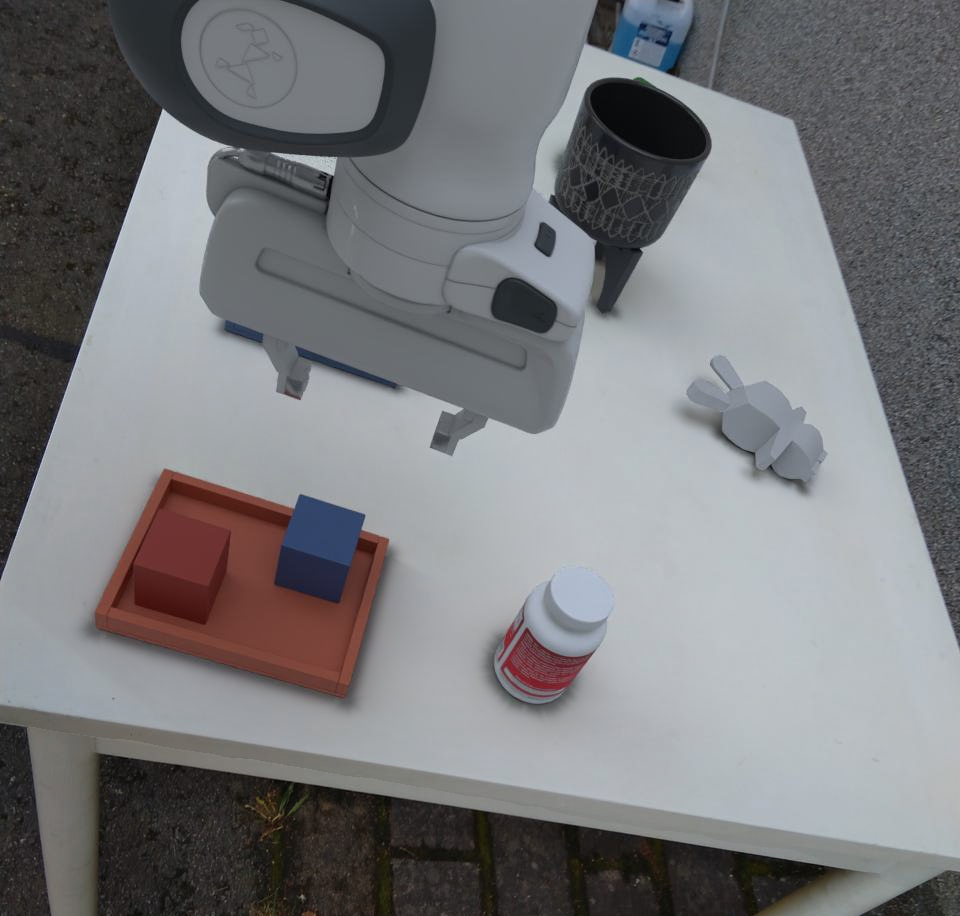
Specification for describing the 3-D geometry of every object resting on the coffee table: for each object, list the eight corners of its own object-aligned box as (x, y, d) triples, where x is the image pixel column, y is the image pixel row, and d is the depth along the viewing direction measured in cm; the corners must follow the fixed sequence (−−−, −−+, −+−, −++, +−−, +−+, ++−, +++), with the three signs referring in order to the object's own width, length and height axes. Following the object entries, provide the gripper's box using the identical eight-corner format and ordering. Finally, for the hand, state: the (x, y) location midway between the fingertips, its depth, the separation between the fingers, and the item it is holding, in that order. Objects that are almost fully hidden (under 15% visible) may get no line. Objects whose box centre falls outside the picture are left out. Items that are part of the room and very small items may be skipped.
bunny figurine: (817, 479, 88) (697, 376, 88) (783, 509, 92) (668, 411, 92) (847, 429, 94) (734, 333, 94) (813, 459, 98) (704, 367, 98)
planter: (554, 220, 105) (618, 61, 90) (651, 281, 104) (731, 130, 90) (501, 269, 97) (561, 104, 83) (605, 336, 97) (684, 180, 82)
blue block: (273, 584, 69) (281, 545, 65) (291, 534, 72) (299, 493, 68) (338, 604, 70) (350, 566, 66) (354, 553, 73) (365, 514, 69)
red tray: (95, 627, 64) (94, 612, 62) (163, 484, 71) (164, 467, 70) (344, 698, 66) (349, 685, 65) (384, 553, 74) (389, 538, 72)
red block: (134, 605, 65) (132, 563, 61) (158, 550, 68) (159, 507, 64) (205, 625, 66) (208, 586, 62) (226, 570, 68) (231, 529, 64)
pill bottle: (575, 703, 72) (635, 630, 63) (502, 709, 70) (553, 634, 61) (555, 634, 75) (610, 555, 66) (484, 638, 73) (530, 556, 64)
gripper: (184, 163, 41) (177, 390, 52) (610, 331, 44) (516, 512, 55) (233, 95, 45) (216, 322, 56) (624, 255, 47) (533, 440, 59)
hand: (368, 417), depth 55 cm, fingers open, 8 cm apart
